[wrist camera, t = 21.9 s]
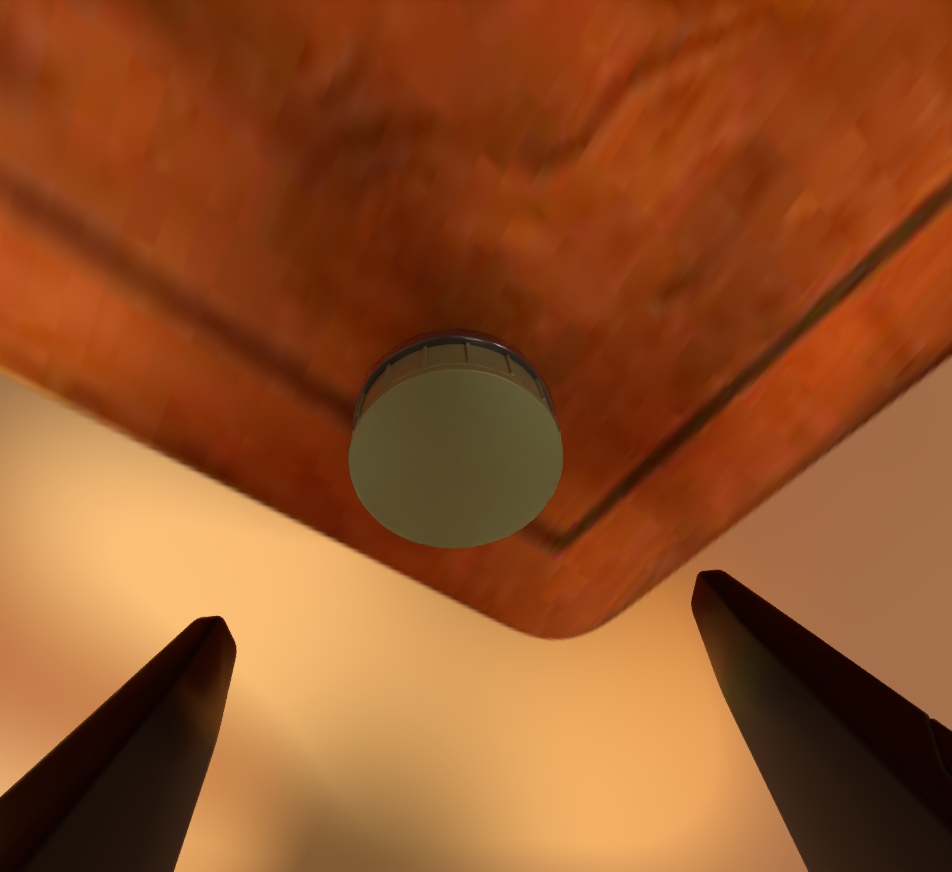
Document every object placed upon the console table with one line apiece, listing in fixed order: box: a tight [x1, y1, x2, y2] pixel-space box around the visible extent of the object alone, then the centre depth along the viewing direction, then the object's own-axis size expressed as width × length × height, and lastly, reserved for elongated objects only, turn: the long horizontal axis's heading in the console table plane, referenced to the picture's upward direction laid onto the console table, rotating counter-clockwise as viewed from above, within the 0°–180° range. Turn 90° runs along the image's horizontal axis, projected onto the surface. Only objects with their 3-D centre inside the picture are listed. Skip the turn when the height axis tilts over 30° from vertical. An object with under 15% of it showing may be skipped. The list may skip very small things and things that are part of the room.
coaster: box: [352, 330, 555, 432], centre depth 15 cm, size 6×6×1 cm
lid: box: [348, 342, 563, 549], centre depth 14 cm, size 6×6×2 cm
